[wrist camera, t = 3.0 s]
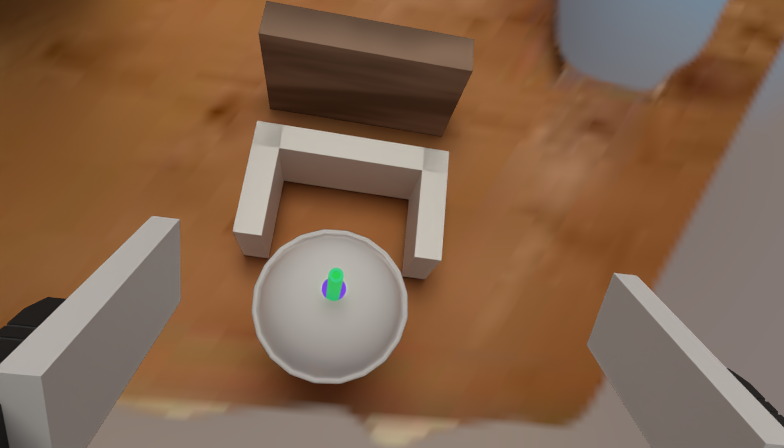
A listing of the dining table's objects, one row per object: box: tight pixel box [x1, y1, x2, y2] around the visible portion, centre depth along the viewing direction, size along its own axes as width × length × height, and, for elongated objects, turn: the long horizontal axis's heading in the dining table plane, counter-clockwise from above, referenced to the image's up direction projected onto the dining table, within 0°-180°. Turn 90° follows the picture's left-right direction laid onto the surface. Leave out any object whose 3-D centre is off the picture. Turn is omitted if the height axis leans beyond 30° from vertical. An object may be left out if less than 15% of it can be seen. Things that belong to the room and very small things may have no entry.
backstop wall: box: [259, 1, 474, 136], centre depth 43 cm, size 3×16×10 cm, turn 84°
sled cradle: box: [233, 121, 449, 279], centre depth 41 cm, size 9×15×6 cm, turn 84°
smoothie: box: [251, 229, 408, 384], centre depth 31 cm, size 8×8×20 cm
